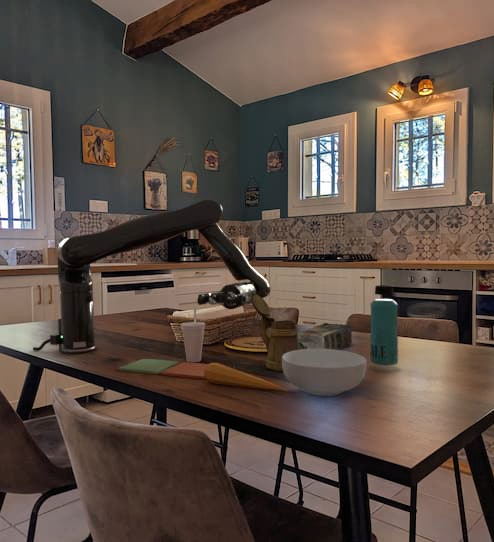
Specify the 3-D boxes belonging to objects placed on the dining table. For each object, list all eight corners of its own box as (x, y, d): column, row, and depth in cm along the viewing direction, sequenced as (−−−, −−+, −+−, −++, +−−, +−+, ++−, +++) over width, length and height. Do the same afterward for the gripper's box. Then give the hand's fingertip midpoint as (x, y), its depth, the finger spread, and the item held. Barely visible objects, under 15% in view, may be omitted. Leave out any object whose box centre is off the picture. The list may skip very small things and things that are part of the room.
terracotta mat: (160, 374, 119) (160, 372, 119) (183, 364, 129) (183, 361, 129) (202, 379, 114) (202, 376, 114) (223, 367, 124) (223, 365, 124)
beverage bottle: (398, 366, 123) (398, 284, 122) (398, 373, 117) (398, 286, 116) (370, 364, 125) (370, 283, 124) (368, 371, 119) (368, 286, 118)
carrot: (202, 385, 112) (199, 368, 110) (213, 373, 115) (210, 356, 113) (286, 406, 102) (285, 389, 100) (295, 393, 106) (293, 375, 104)
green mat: (118, 370, 124) (118, 367, 124) (143, 360, 134) (143, 358, 134) (157, 374, 119) (156, 371, 119) (180, 363, 129) (180, 361, 129)
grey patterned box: (324, 357, 134) (323, 333, 134) (291, 353, 140) (290, 331, 139) (353, 345, 150) (353, 324, 150) (322, 342, 156) (322, 322, 156)
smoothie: (202, 363, 129) (201, 309, 128) (178, 363, 130) (177, 308, 130) (208, 358, 135) (207, 305, 135) (185, 357, 137) (184, 305, 136)
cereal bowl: (310, 408, 93) (309, 370, 92) (267, 385, 108) (267, 352, 108) (384, 396, 100) (384, 360, 99) (334, 376, 115) (334, 345, 114)
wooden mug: (261, 359, 133) (260, 290, 132) (309, 365, 126) (308, 292, 125) (243, 366, 126) (242, 293, 125) (292, 373, 118) (291, 296, 117)
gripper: (214, 283, 160) (189, 287, 145) (256, 283, 154) (235, 288, 140) (215, 306, 161) (190, 313, 146) (257, 308, 155) (236, 315, 140)
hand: (212, 301), depth 143 cm, fingers open, 8 cm apart
